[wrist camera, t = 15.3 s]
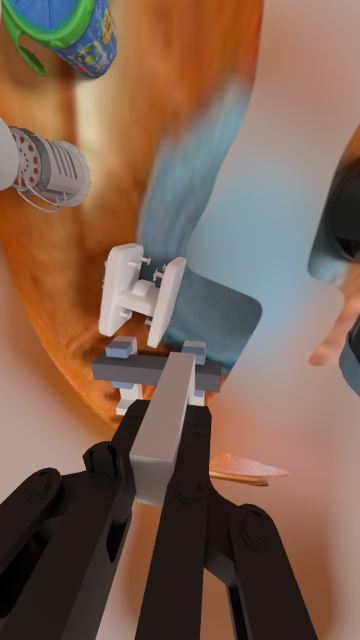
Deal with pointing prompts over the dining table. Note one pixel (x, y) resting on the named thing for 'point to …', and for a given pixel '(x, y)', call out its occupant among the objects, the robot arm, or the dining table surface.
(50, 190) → the french press
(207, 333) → the dining table surface
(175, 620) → the robot arm
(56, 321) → the dining table surface
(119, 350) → the white notched holder
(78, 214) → the dining table surface
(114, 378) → the dark gray bar
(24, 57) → the snack cup
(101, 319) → the cable organizer
